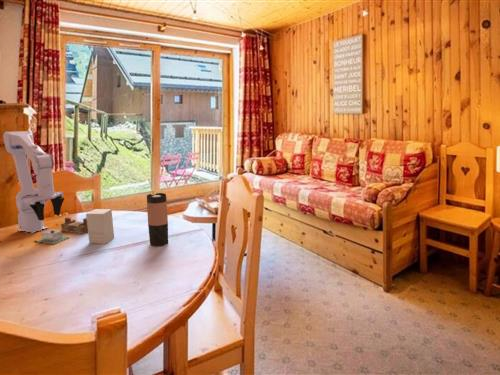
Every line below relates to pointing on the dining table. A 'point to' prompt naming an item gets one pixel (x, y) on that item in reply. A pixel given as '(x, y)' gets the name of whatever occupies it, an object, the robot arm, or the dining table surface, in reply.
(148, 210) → the travel mug
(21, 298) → the dining table surface
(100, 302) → the dining table surface
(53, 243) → the felt mat
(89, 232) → the supplement box
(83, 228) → the plane body
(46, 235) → the lever cap
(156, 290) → the dining table surface
